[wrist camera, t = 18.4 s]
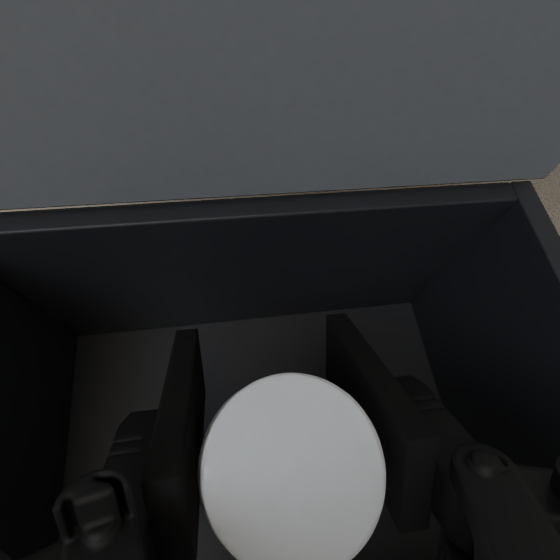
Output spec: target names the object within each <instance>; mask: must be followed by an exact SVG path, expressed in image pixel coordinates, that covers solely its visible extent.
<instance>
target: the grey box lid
mask: <svg viewBox="0 0 560 560" xmlns="http://www.w3.org/2000/svg"><path fill="white" fill-rule="evenodd" d="M559 163H560V0H0V210H10V209H28V208H45V207H62V206H79V205H96V204H113V203H130V202H148V201H165V200H182V199H199V198H216V197H233V196H250V195H268V194H285V193H302V192H319V191H336V190H353V189H371V188H388V187H405V186H422V185H439V184H456V183H473V182H491V181H508V180H525V179H542V178H545V177H547V176H548V175H549V174H550V173H551V171H552V170H553V169H554V168H555V167H556V166H557V165H558V164H559Z"/></svg>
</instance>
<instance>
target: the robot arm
mask: <svg viewBox="0 0 560 560" xmlns="http://www.w3.org/2000/svg"><path fill="white" fill-rule="evenodd" d="M326 378H327V380H328V381H329V382H331V383H333V384H335V385H337V386H338V387H340V388H341V389H343V390H344V391H345V392H347V393H348V394H350V395H351V396H352V397H353V398H354V399H355V400H356V401H357V402H358V404H359V405H360V406H361V407H362V409H363V410H364V411H365V413H366V414H367V416H368V417H369V419H370V420H371V422H372V424H373V426H374V428H375V430H376V432H377V435H378V437H379V440H380V443H381V446H382V450H383V454H384V459H385V465H386V491H385V499H384V502H385V505H386V507H387V509H388V511H389V513H390V515H391V517H392V520H393V522H394V524H395V526H396V528H397V530H398V533H399V534H401V533H407V532H412V531H417V530H423V529H428V528H429V524H430V517H431V511H432V512H433V514H434V516H435V518H436V519H437V521H438V523H439V524H440V526H441V530H440V537H439V543H438V550H437V557H436V560H444V558H445V560H560V456H558V458H557V460H556V462H555V465H554V469H548V468H539V467H531V466H522V465H517V464H514V463H513V462H512V460H511V459H510V458H509V457H508V456H507V455H505V454H504V453H502V452H501V451H499V450H498V449H496V448H493V447H491V446H488V445H486V444H481V443H477V442H476V441H475V440H474V439H473V438H472V436H471V435H470V434H469V433H468V432H467V431H466V430H465V428H464V427H463V426H462V425H461V424H460V423H459V422H458V420H457V419H456V418H455V417H454V416H453V415H452V414H451V412H450V411H449V410H448V409H447V408H446V407H444V404H443V403H442V402H441V401H440V400H439V399H438V398H436V395H435V394H434V393H433V392H432V391H431V390H430V388H429V387H428V386H427V385H426V384H425V383H423V382H421V381H420V380H418V379H416V378H415V377H413V376H412V375H408V376H400V377H394V376H393V375H392V373H391V372H390V371H389V369H388V368H387V367H386V366H385V364H384V363H383V362H382V360H381V359H380V358H379V356H378V355H377V354H376V352H375V351H374V350H373V348H372V347H371V346H370V345H369V343H368V342H367V341H366V339H365V338H364V337H363V335H362V334H361V333H360V331H359V330H358V329H357V328H356V326H355V325H354V324H353V322H352V321H351V320H350V318H349V317H348V316H347V314H346V313H341V314H331V315H326ZM205 397H206V390H205V382H204V374H203V366H202V358H201V350H200V342H199V334H198V328H195V329H185V330H176V334H175V338H174V342H173V347H172V351H171V355H170V360H169V364H168V368H167V372H166V377H165V381H164V385H163V390H162V394H161V398H160V403H159V407H158V409H153V410H145V411H137V412H130V414H129V415H128V416H127V417H126V418H125V419H124V420H123V421H122V423H121V424H120V425H119V426H118V428H117V431H116V434H115V437H114V440H113V444H112V445H111V448H110V451H109V453H108V457H107V459H106V462H105V464H104V467H103V469H99V470H94V471H92V472H89V473H87V474H85V475H83V476H80V477H79V478H77V479H76V480H75V481H73V482H72V483H71V484H69V485H68V486H67V487H66V488H65V489H64V490H63V492H62V493H61V494H60V495H59V496H58V497H57V499H56V502H55V504H54V507H53V509H52V512H53V515H54V518H55V521H56V524H57V527H58V530H59V533H60V536H61V539H60V540H59V541H57V542H56V543H54V544H52V545H50V546H48V547H46V548H44V549H42V550H40V551H37V552H35V553H33V554H31V555H28V556H26V557H24V558H22V559H19V560H197V548H198V529H199V510H200V496H199V489H198V478H197V472H198V459H199V453H200V449H201V444H202V441H203V434H204V415H205ZM0 560H11V557H10V556H8V555H7V554H5V553H4V552H2V551H0Z"/></svg>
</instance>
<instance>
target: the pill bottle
mask: <svg viewBox="0 0 560 560" xmlns="http://www.w3.org/2000/svg"><path fill="white" fill-rule="evenodd" d="M197 478H198V489H199V496H200V501H201V505H202V508H203V512H204V514H205V517H206V519H207V521H208V523H209V525H210V527H211V529H212V531H213V532H214V534H215V535H216V537H217V538H218V539H219V541H220V542H221V543H222V544H223V546H224V547H225V548H226V549H227V550H228V551H229V552H230V554H231V555H232V556H234V557H235V558H236V559H237V560H352V559H353V558H354V557H355V556H356V555H357V554H358V553H359V552H360V551H361V550H362V548H363V547H364V546H365V544H366V543H367V542H368V540H369V539H370V537H371V535H372V533H373V531H374V529H375V527H376V525H377V523H378V520H379V517H380V514H381V511H382V508H383V504H384V499H385V491H386V465H385V459H384V454H383V450H382V446H381V443H380V440H379V437H378V435H377V432H376V430H375V428H374V426H373V424H372V422H371V420H370V419H369V417H368V416H367V414H366V413H365V411H364V410H363V409H362V407H361V406H360V405H359V404H358V402H357V401H356V400H355V399H354V398H353V397H352V396H351V395H350V394H348V393H347V392H345V391H344V390H343V389H341V388H340V387H338V386H337V385H335V384H333V383H331V382H329V381H327V380H325V379H323V378H320V377H317V376H313V375H309V374H304V373H293V372H289V373H279V374H274V375H269V376H266V377H264V378H261V379H258V380H256V381H254V382H252V383H251V384H249V385H247V386H246V387H244V388H242V389H241V390H239V391H238V392H236V393H235V394H234V395H233V396H231V397H230V398H229V399H228V400H227V401H226V402H225V403H224V404H223V405H222V407H221V408H220V409H219V410H218V412H217V413H216V414H215V416H214V418H213V419H212V421H211V423H210V424H209V426H208V429H207V431H206V433H205V435H204V438H203V441H202V444H201V449H200V453H199V459H198V472H197Z"/></svg>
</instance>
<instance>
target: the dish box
mask: <svg viewBox="0 0 560 560" xmlns="http://www.w3.org/2000/svg"><path fill="white" fill-rule="evenodd" d="M341 313H346V314H347V316H348V317H349V318H350V320H351V321H352V322H353V324H354V325H355V326H356V328H357V329H358V330H359V331H360V333H361V334H362V335H363V337H364V338H365V339H366V341H367V342H368V343H369V345H370V346H371V347H372V348H373V350H374V351H375V352H376V354H377V355H378V356H379V358H380V359H381V360H382V362H383V363H384V364H385V366H386V367H387V368H388V369H389V371H390V372H391V373H392V375H393V376H394V377H400V376H408V375H412V376H413V377H415V378H416V379H418V380H420V381H421V382H423V383H425V384H426V385H427V386H428V387H429V388H430V390H431V391H432V392H433V393H434V394H435V395H436V398H438V399H439V400H440V401H441V402H442V403H443V404H444V407H446V408H447V409H448V410H449V411H450V412H451V414H452V415H453V416H454V417H455V418H456V419H457V420H458V422H459V423H460V424H461V425H462V426H463V427H464V428H465V430H466V431H467V432H468V433H469V434H470V435H471V436H472V438H473V439H474V440H475V441H476V442H477V443H481V444H486V445H488V446H491V447H493V448H496V449H498V450H499V451H501V452H502V453H504V454H505V455H507V456H508V457H509V458H510V459H511V460H512V462H513V463H514V464H517V465H522V466H531V467H539V468H548V469H554V465H555V462H556V460H557V458H558V456H560V236H559V235H558V233H557V231H556V229H555V227H554V225H553V223H552V221H551V219H550V217H549V216H548V214H547V212H546V210H545V208H544V206H543V204H542V202H541V200H540V198H539V197H538V195H537V193H536V191H535V189H534V187H533V185H532V183H531V182H530V181H521V182H511V183H508V182H506V183H489V184H472V185H455V186H438V187H421V188H404V189H388V190H371V191H354V192H337V193H320V194H303V195H286V196H269V197H252V198H235V199H218V200H201V201H184V202H167V203H150V204H133V205H116V206H100V207H83V208H66V209H49V210H32V211H15V212H0V551H2V552H4V553H5V554H7V555H8V556H10V557H11V560H19V559H22V558H24V557H26V556H28V555H31V554H33V553H35V552H37V551H40V550H42V549H44V548H46V547H48V546H50V545H52V544H54V543H56V542H57V541H59V540H60V539H61V536H60V533H59V530H58V527H57V524H56V521H55V518H54V515H53V512H52V509H53V507H54V504H55V502H56V499H57V497H58V496H59V495H60V494H61V493H62V492H63V490H64V489H65V488H66V487H67V486H68V485H69V484H71V483H72V482H73V481H75V480H76V479H77V478H79V477H80V476H83V475H85V474H87V473H89V472H92V471H94V470H99V469H103V467H104V464H105V462H106V459H107V457H108V453H109V451H110V448H111V445H112V444H113V440H114V437H115V434H116V431H117V428H118V426H119V425H120V424H121V423H122V421H123V420H124V419H125V418H126V417H127V416H128V415H129V414H130V412H137V411H145V410H153V409H158V407H159V403H160V398H161V394H162V390H163V385H164V381H165V377H166V372H167V368H168V364H169V360H170V355H171V351H172V347H173V342H174V338H175V334H176V330H185V329H195V328H198V334H199V342H200V350H201V358H202V366H203V374H204V382H205V390H206V397H205V415H204V434H203V438H204V435H205V433H206V431H207V429H208V426H209V424H210V423H211V421H212V419H213V418H214V416H215V414H216V413H217V412H218V410H219V409H220V408H221V407H222V405H223V404H224V403H225V402H226V401H227V400H228V399H229V398H230V397H231V396H233V395H234V394H235V393H236V392H238V391H239V390H241V389H242V388H244V387H246V386H247V385H249V384H251V383H252V382H254V381H256V380H258V379H261V378H264V377H266V376H269V375H274V374H279V373H289V372H293V373H304V374H309V375H313V376H317V377H320V378H323V379H325V380H327V378H326V315H331V314H341ZM327 381H328V380H327ZM440 530H441V526H440V524H439V523H438V521H437V519H436V518H435V516H434V514H433V512H432V511H431V517H430V524H429V528H428V529H423V530H417V531H412V532H407V533H401V534H399V533H398V530H397V528H396V526H395V524H394V522H393V520H392V517H391V515H390V513H389V511H388V509H387V507H386V505H385V502H384V504H383V508H382V511H381V514H380V517H379V520H378V523H377V525H376V527H375V529H374V531H373V533H372V535H371V537H370V539H369V540H368V542H367V543H366V544H365V546H364V547H363V548H362V550H361V551H360V552H359V553H358V554H357V555H356V556H355V557H354V558H353V559H352V560H436V557H437V550H438V543H439V537H440ZM197 560H237V559H236V558H235V557H234V556H232V555H231V554H230V552H229V551H228V550H227V549H226V548H225V547H224V546H223V544H222V543H221V542H220V541H219V539H218V538H217V537H216V535H215V534H214V532H213V531H212V529H211V527H210V525H209V523H208V521H207V519H206V517H205V514H204V512H203V508H202V505H201V501H200V510H199V529H198V548H197ZM444 560H445V558H444Z"/></svg>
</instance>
